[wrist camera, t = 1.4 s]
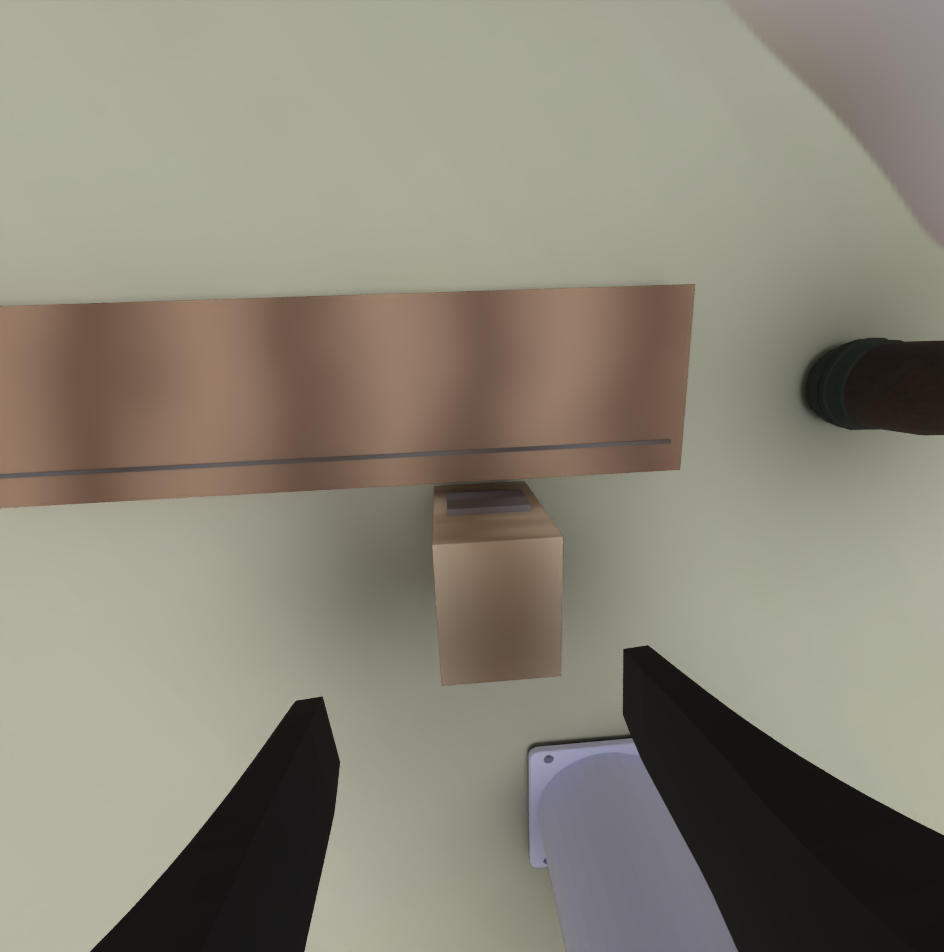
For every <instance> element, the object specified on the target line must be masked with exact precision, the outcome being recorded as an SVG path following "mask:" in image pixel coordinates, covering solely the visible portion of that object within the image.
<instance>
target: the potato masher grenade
mask: <svg viewBox="0 0 944 952" xmlns="http://www.w3.org/2000/svg"><path fill="white" fill-rule="evenodd" d="M807 399H808V401H809V404H810V407H811V408H812V409H813V410H814V411H815V412H816V414H817V415H819V416H820V417H822V418H823V419H824V420H825V421H826V422H828V423H831V424H833V425H835V426H838V427H842V428H846V429H849V430H864V429H883V430H890V431H896V432H903V433H910V434H917V435H944V341H913V342H903V341H901V340H888V339H886V338H866V339H858V340H854V341H851V342H849V343H846V344H843V345H841V346H840V347H838V348H836V349H834V350H831V351H830V352H828V353H827V354H826V355H824V356H823V357H822V358H821V359H819V361H818V362H817V364H816V365H815V366H814V368H813V369H812V371H811V373H810V376H809V379H808V382H807Z"/></svg>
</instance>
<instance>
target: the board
mask: <svg viewBox="0 0 944 952" xmlns="http://www.w3.org/2000/svg"><path fill="white" fill-rule="evenodd" d="M694 291H695V284H684V285H653V286H622V287H590V288H559V289H528V290H496V291H465V292H434V293H402V294H371V295H340V296H308V297H277V298H246V299H214V300H183V301H152V302H120V303H89V304H58V305H26V306H0V508H9V507H27V506H45V505H63V504H80V503H98V502H116V501H134V500H151V499H169V498H187V497H205V496H222V495H240V494H258V493H276V492H293V491H311V490H329V489H346V488H364V487H382V486H400V485H417V484H435V483H453V482H471V481H488V480H506V479H524V478H542V477H559V476H577V475H595V474H613V473H630V472H648V471H666V470H680V465H681V452H682V440H683V427H684V415H685V403H686V390H687V378H688V366H689V353H690V341H691V329H692V316H693V304H694Z"/></svg>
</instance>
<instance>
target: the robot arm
mask: <svg viewBox="0 0 944 952" xmlns="http://www.w3.org/2000/svg"><path fill="white" fill-rule="evenodd" d="M623 716H624V719H625V721H626V724H627V726H628V729H629V731H630V734H631V736H632V738H628V739H617V740H606V741H595V742H584V743H573V744H562V745H552V746H541V747H535V748H533V749H531V750H530V752H529V754H528V782H529V858H530V863H531V865H532V866H533V867H536V868H542V867H548V869H549V874H550V879H551V883H552V888H553V893H554V897H555V902H556V907H557V911H558V916H559V921H560V925H561V930H562V935H563V939H564V944H565V949H566V952H944V835H942V834H940V833H938V832H936V831H934V830H932V829H930V828H928V827H926V826H924V825H922V824H920V823H918V822H916V821H914V820H912V819H910V818H908V817H906V816H904V815H903V814H901V813H899V812H897V811H895V810H893V809H891V808H889V807H888V806H886V805H884V804H882V803H880V802H878V801H876V800H874V799H873V798H871V797H869V796H867V795H865V794H863V793H862V792H860V791H858V790H856V789H854V788H853V787H851V786H849V785H847V784H846V783H844V782H842V781H840V780H839V779H837V778H835V777H834V776H832V775H830V774H829V773H827V772H825V771H824V770H822V769H820V768H819V767H817V766H815V765H814V764H812V763H810V762H809V761H807V760H805V759H804V758H802V757H800V756H799V755H797V754H796V753H794V752H793V751H791V750H789V749H788V748H786V747H785V746H783V745H782V744H780V743H779V742H777V741H776V740H774V739H773V738H771V737H770V736H768V735H767V734H765V733H764V732H762V731H761V730H759V729H758V728H757V727H755V726H754V725H752V724H751V723H749V722H748V721H746V720H745V719H744V718H742V717H741V716H739V715H738V714H737V713H735V712H734V711H732V710H731V709H730V708H728V707H727V706H726V705H724V704H723V703H722V702H720V701H719V700H718V699H716V698H715V697H713V696H712V695H711V694H709V693H708V692H707V691H706V690H704V689H703V688H702V687H700V686H699V685H698V684H696V683H695V682H694V681H693V680H691V679H690V678H689V677H688V676H686V675H685V674H684V673H682V672H681V671H680V670H679V669H677V668H676V667H675V666H674V665H672V664H671V663H670V662H668V661H667V660H666V659H665V658H663V657H662V656H661V655H660V654H658V653H657V652H656V651H655V650H653V649H652V648H651V647H649V646H648V645H647V646H641V647H634V648H628V649H623ZM548 755H550V756H549V757H546V756H548ZM339 767H340V760H339V756H338V753H337V749H336V745H335V741H334V738H333V734H332V730H331V726H330V723H329V719H328V715H327V711H326V707H325V704H324V700H323V697H317V698H311V699H304V700H298V701H296V702H295V703H294V704H293V705H292V706H291V708H290V709H289V711H288V712H287V713H286V715H285V716H284V718H283V719H282V721H281V722H280V723H279V725H278V726H277V728H276V729H275V731H274V732H273V733H272V735H271V736H270V738H269V739H268V740H267V742H266V743H265V745H264V746H263V747H262V749H261V750H260V752H259V753H258V754H257V756H256V757H255V759H254V760H253V761H252V763H251V764H250V765H249V767H248V768H247V769H246V771H245V772H244V774H243V775H242V776H241V778H240V779H239V780H238V782H237V783H236V784H235V786H234V787H233V788H232V790H231V791H230V792H229V794H228V795H227V796H226V798H225V799H224V800H223V801H222V803H221V804H220V805H219V807H218V808H217V809H216V810H215V812H214V813H213V814H212V815H211V817H210V818H209V819H208V820H207V822H206V823H205V824H204V825H203V827H202V828H201V829H200V830H199V832H198V833H197V834H196V835H195V837H194V838H193V839H192V840H191V842H190V843H189V844H188V845H187V846H186V848H185V849H184V850H183V851H182V852H181V853H180V855H179V856H178V857H177V858H176V859H175V861H174V862H173V863H172V864H171V865H170V866H169V868H168V869H167V870H166V871H165V872H164V873H163V874H162V876H161V877H160V878H159V879H158V880H157V881H156V882H155V883H154V885H153V886H152V887H151V888H150V889H149V890H148V891H147V892H146V893H145V895H144V896H143V897H142V898H141V899H140V900H139V901H138V902H137V903H136V905H135V906H134V907H133V908H132V909H131V910H130V911H129V912H128V913H127V914H126V915H125V916H124V917H123V918H122V919H121V920H120V922H119V923H118V924H117V925H116V926H115V927H114V928H113V929H112V930H111V931H110V932H109V933H108V934H107V935H106V936H105V937H104V938H103V939H102V940H101V941H100V942H99V943H98V944H97V945H96V946H95V947H94V948H93V949H92V950H91V951H90V952H304V951H305V946H306V941H307V936H308V932H309V927H310V923H311V918H312V914H313V909H314V904H315V900H316V895H317V891H318V886H319V882H320V877H321V873H322V868H323V864H324V859H325V854H326V850H327V845H328V840H329V836H330V831H331V826H332V822H333V817H334V811H335V803H336V795H337V786H338V777H339Z"/></svg>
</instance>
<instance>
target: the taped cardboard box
mask: <svg viewBox="0 0 944 952" xmlns="http://www.w3.org/2000/svg"><path fill="white" fill-rule="evenodd" d="M432 549H433V564H434V579H435V594H436V609H437V624H438V639H439V654H440V669H441V684H442V686H446V685H458V684H470V683H482V682H495V681H507V680H519V679H531V678H544V677H556V676H561V651H562V575H563V536H562V535H561V533H560V532H559V530H558V529H557V527H556V526H555V525H554V523H553V522H552V520H551V519H550V517H549V516H548V514H547V513H546V512H545V510H544V509H543V507H542V506H541V504H540V503H539V502H538V500H537V499H536V497H535V496H534V494H533V493H532V491H531V490H530V489H529V487H528V486H527V484H526V483H525V481H523V482H505V483H487V484H470V485H452V486H435V491H434V515H433V539H432Z"/></svg>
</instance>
